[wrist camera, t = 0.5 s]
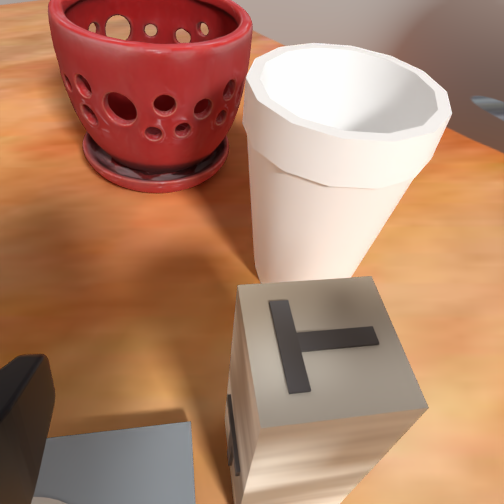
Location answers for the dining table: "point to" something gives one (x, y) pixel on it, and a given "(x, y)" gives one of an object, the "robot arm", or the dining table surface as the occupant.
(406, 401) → the letter block
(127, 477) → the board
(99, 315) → the dining table surface
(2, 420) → the robot arm
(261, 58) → the foam cup
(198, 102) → the plant pot
